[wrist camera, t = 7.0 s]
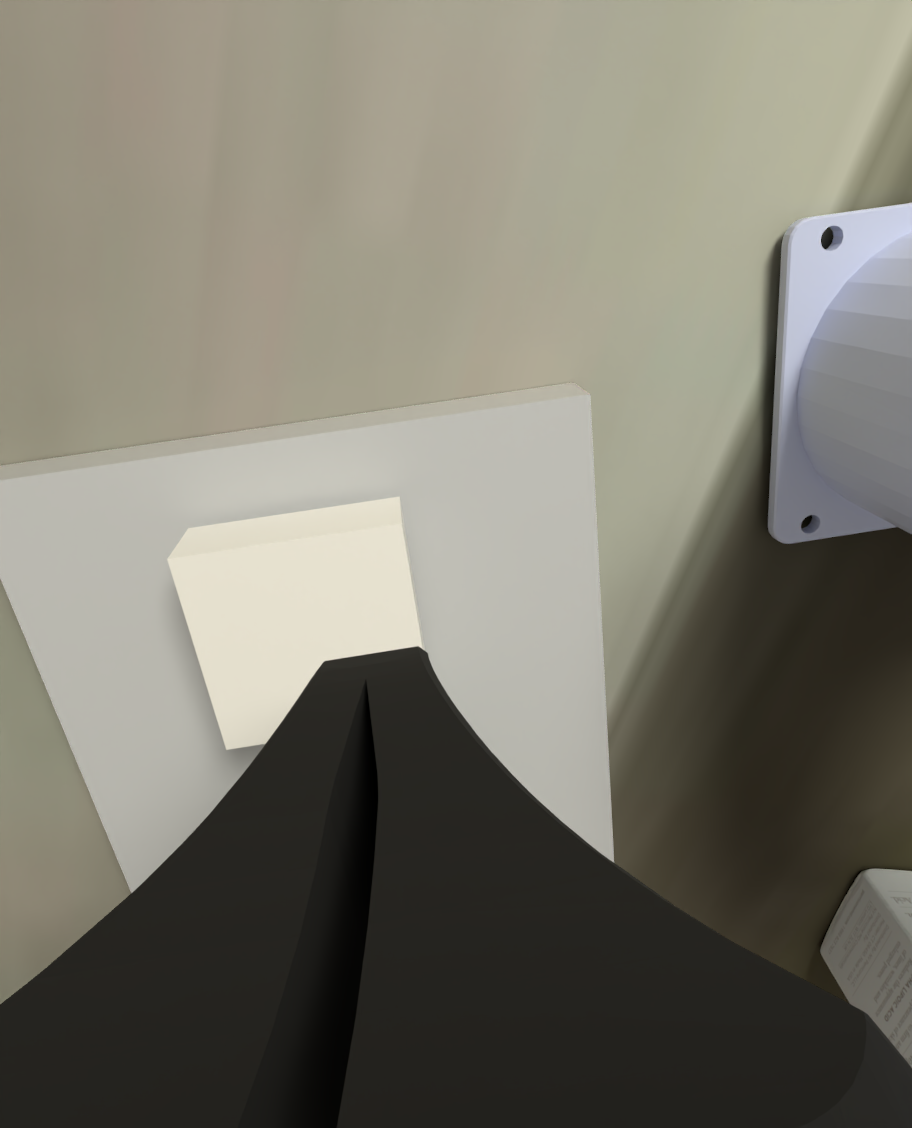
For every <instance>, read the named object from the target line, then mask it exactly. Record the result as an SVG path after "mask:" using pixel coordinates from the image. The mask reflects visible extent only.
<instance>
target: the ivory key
mask: <svg viewBox="0 0 912 1128" xmlns="http://www.w3.org/2000/svg"><path fill="white" fill-rule="evenodd" d="M167 561H168V564H169V567H170V570H171V573H172V577H173V580H174V583H175V586H176V589H177V593H178V596H179V599H180V602H181V606H182V609H183V612H184V615H185V618H186V622H187V625H188V628H189V631H190V634H191V638H192V641H193V644H194V647H195V651H196V654H197V657H198V660H199V663H200V667H201V670H202V673H203V676H204V679H205V683H206V686H207V689H208V692H209V696H210V699H211V702H212V705H213V708H214V712H215V715H216V718H217V721H218V725H219V728H220V731H221V734H222V737H223V741H224V744H225V747H226V750H229V749H236V748H242V747H248V746H254V745H260V744H266V743H267V741H268V740H269V738H270V737H271V736H272V734H273V733H274V732H275V730H276V729H277V728H278V726H279V725H280V724H281V722H282V721H283V719H284V718H285V716H286V715H287V713H288V712H289V711H290V709H291V708H292V706H293V705H294V703H295V702H296V700H297V699H298V697H299V696H300V695H301V693H302V692H303V690H304V689H305V687H306V686H307V684H308V683H309V681H310V680H311V678H312V677H313V675H314V674H315V673H316V671H317V670H318V669H319V667H320V666H321V665H322V663H323V662H324V661H328V660H334V659H340V658H347V657H353V656H359V655H366V654H372V653H378V652H384V651H391V650H397V649H403V648H410V647H416V646H419V647H420V648H422V649H423V650H424V651H425V647H424V641H423V635H422V629H421V623H420V617H419V611H418V605H417V599H416V593H415V586H414V580H413V574H412V568H411V562H410V556H409V550H408V544H407V538H406V532H405V526H404V520H403V514H402V508H401V501H400V497H393V498H386V499H380V500H373V501H366V502H360V503H353V504H346V505H340V506H333V507H326V508H320V509H313V510H306V511H300V512H293V513H286V514H280V515H273V516H266V517H260V518H253V519H246V520H240V521H233V522H226V523H220V524H213V525H206V526H200V527H193V528H188V529H187V531H186V532H185V534H184V535H183V537H182V538H181V540H180V541H179V543H178V544H177V545H176V547H175V548H174V550H173V551H172V553H171V554H170V556H169V557H168V559H167Z"/></svg>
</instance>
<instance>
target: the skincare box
mask: <svg viewBox="0 0 912 1128" xmlns="http://www.w3.org/2000/svg"><path fill="white" fill-rule="evenodd" d="M820 953H821V955H822V957H823V959H824V961H825V962H826V964H827V966H828V968H829V969H830V971H831V973H832V974H833V976H834V978H835V979H836V981H837V983H838V984H839V986H840V988H841V990H842V991H843V993H844V995H845V996H846V998H847V1000H848V1002H849V1003H850V1004H851V1005H853V1006H855V1007H856V1008H858V1009H860V1010H862V1011H864V1012H865V1013H867V1014H868V1015H869V1016H870V1017H871V1019H872V1020H873V1021H874V1022H875V1023H876V1025H877V1026H878V1027H879V1028H880V1029H881V1031H882V1032H883V1033H884V1034H885V1035H886V1037H887V1038H888V1039H889V1040H890V1042H891V1043H892V1044H893V1045H894V1046H895V1048H896V1049H897V1050H898V1051H899V1053H900V1054H901V1055H902V1056H903V1058H904V1059H905V1060H906V1061H907V1062H908V1064H909V1065H910V1066H911V1067H912V871H905V870H892V869H877V868H875V869H868V870H864V871H862V872H860V874H859V875H858V876H857V878H856V879H855V881H854V883H853V885H852V886H851V887H850V889H849V891H848V893H847V894H846V896H845V898H844V900H843V902H842V903H841V905H840V907H839V909H838V911H837V913H836V915H835V917H834V918H833V921H832V923H831V925H830V927H829V929H828V931H827V933H826V936H825V938H824V940H823V943H822V946H821V949H820Z"/></svg>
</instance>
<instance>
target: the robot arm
mask: <svg viewBox="0 0 912 1128" xmlns="http://www.w3.org/2000/svg"><path fill="white" fill-rule="evenodd" d="M828 227H830V229H831V230H832V231H833V236H834V238H833V241H832V244H831V245H830V246H829V247H828V248H827V249H824V248H823V247H822V245H821V237H822V234H823V232H824V231H825V230H826V229H827V228H828ZM810 515H812V520H811V523H810V524H809V525H808V526H807V527H804V528H801V524H802V521H803V520H804V519H805V518H806V517H807V516H810ZM895 527H899V528H900V529H902V530H904V531H906V532H908V533H910V534H912V203H907V204H900V205H892V206H885V207H878V208H871V209H863V210H856V211H849V212H842V213H835V214H827V215H820V216H813V217H806V218H802V219H799V220H796V221H795V222H794V223H793V224H791V225H790V226H789V227H788V229H787V231H786V232H785V234H784V236H783V241H782V248H781V268H780V288H779V308H778V328H777V348H776V368H775V388H774V408H773V428H772V448H771V468H770V489H769V509H768V531H769V533H770V534H771V536H772V537H773V538H775V539H776V540H777V541H779V542H781V543H783V544H792V543H798V542H805V541H811V540H818V539H824V538H830V537H837V536H843V535H850V534H856V533H863V532H869V531H876V530H882V529H888V528H895ZM0 1128H912V1067H911V1066H910V1065H909V1064H908V1062H907V1061H906V1060H905V1059H904V1058H903V1056H902V1055H901V1054H900V1053H899V1051H898V1050H897V1049H896V1048H895V1046H894V1045H893V1044H892V1043H891V1042H890V1040H889V1039H888V1038H887V1037H886V1035H885V1034H884V1033H883V1032H882V1031H881V1029H880V1028H879V1027H878V1026H877V1025H876V1023H875V1022H874V1021H873V1020H872V1019H871V1017H870V1016H869V1015H868V1014H867V1013H865V1012H864V1011H862V1010H860V1009H858V1008H856V1007H855V1006H853V1005H851V1004H849V1003H847V1002H845V1001H843V1000H841V999H839V998H838V997H836V996H834V995H832V994H830V993H828V992H826V991H824V990H822V989H820V988H819V987H817V986H815V985H813V984H811V983H809V982H807V981H805V980H803V979H802V978H800V977H798V976H796V975H794V974H792V973H790V972H788V971H786V970H784V969H783V968H781V967H779V966H777V965H775V964H773V963H771V962H769V961H767V960H766V959H764V958H762V957H760V956H758V955H756V954H754V953H752V952H750V951H748V950H747V949H745V948H743V947H741V946H739V945H737V944H735V943H734V942H732V941H730V940H728V939H727V938H725V937H724V936H722V935H720V934H719V933H717V932H716V931H714V930H712V929H711V928H709V927H707V926H706V925H704V924H703V923H701V922H699V921H698V920H696V919H695V918H693V917H691V916H690V915H688V914H687V913H685V912H683V911H682V910H680V909H679V908H677V907H675V906H674V905H673V904H671V903H670V902H668V901H667V900H666V899H664V898H663V897H661V896H660V895H659V894H657V893H656V892H654V891H653V890H652V889H650V888H649V887H647V886H646V885H644V884H643V883H642V882H640V881H639V880H637V879H636V878H635V877H633V876H632V875H630V874H629V873H628V872H626V871H625V870H623V869H622V868H621V867H619V866H618V865H616V864H615V863H614V862H612V861H611V860H609V859H608V858H607V857H605V856H604V855H602V854H601V853H600V852H598V851H597V850H596V849H595V848H593V847H592V846H591V845H590V844H588V843H587V842H586V841H585V840H584V839H582V838H581V837H580V836H579V835H578V834H576V833H575V832H574V831H573V830H572V829H570V828H569V827H568V826H567V825H565V824H564V823H563V822H562V821H561V820H560V819H559V818H557V817H556V816H555V815H554V814H553V813H552V812H551V811H550V810H549V809H547V808H546V807H545V806H544V805H543V804H542V803H541V802H540V801H539V800H538V799H536V798H535V797H534V796H533V795H532V794H531V793H530V792H529V791H528V790H527V789H526V788H525V787H524V786H523V785H522V784H521V783H520V782H519V781H518V780H517V779H516V778H515V777H514V776H513V775H512V774H511V773H510V771H509V770H508V769H507V768H506V767H505V766H504V765H503V764H502V763H501V762H500V760H499V759H498V758H497V757H496V756H495V755H494V754H493V753H492V752H491V751H490V749H489V748H488V747H487V746H486V745H485V743H484V742H483V741H482V740H481V739H480V737H479V736H478V735H477V734H476V732H475V731H474V730H473V729H472V727H471V726H470V725H469V723H468V722H467V721H466V719H465V718H464V717H463V715H462V714H461V713H460V711H459V710H458V709H457V707H456V706H455V704H454V703H453V702H452V700H451V699H450V697H449V696H448V694H447V692H446V691H445V689H444V687H443V686H442V684H441V683H440V681H439V679H438V677H437V675H436V674H435V672H434V670H433V667H432V665H431V662H430V660H429V656H428V653H427V652H426V651H424V650H423V649H422V648H420V647H419V646H416V647H410V648H403V649H397V650H391V651H384V652H378V653H372V654H366V655H359V656H353V657H347V658H340V659H334V660H328V661H324V662H323V663H322V665H321V666H320V667H319V669H318V670H317V671H316V673H315V674H314V675H313V677H312V678H311V680H310V681H309V683H308V684H307V686H306V687H305V689H304V690H303V692H302V693H301V695H300V696H299V697H298V699H297V700H296V702H295V703H294V705H293V706H292V708H291V709H290V711H289V712H288V713H287V715H286V716H285V718H284V719H283V721H282V722H281V724H280V725H279V726H278V728H277V729H276V730H275V732H274V733H273V734H272V736H271V737H270V738H269V740H268V741H267V743H266V744H265V745H264V747H263V748H262V749H261V751H260V752H259V753H258V755H257V756H256V757H255V759H254V760H253V761H252V763H251V764H250V765H249V767H248V768H247V769H246V770H245V772H244V773H243V774H242V775H241V777H240V778H239V779H238V780H237V781H236V783H235V784H234V785H233V786H232V787H231V789H230V790H229V791H228V792H227V793H226V795H225V796H224V797H223V798H222V799H221V801H220V802H219V803H218V804H217V806H216V807H215V808H214V809H213V810H212V812H211V813H210V814H209V815H208V816H207V817H206V818H205V819H204V821H203V822H202V823H201V824H200V825H199V826H198V827H197V828H196V829H195V830H194V831H193V833H192V834H191V835H190V836H189V837H188V838H187V839H186V840H185V841H184V842H183V843H182V844H181V845H180V846H179V847H178V848H177V849H176V850H175V851H174V852H173V853H172V854H171V855H170V856H169V857H168V858H167V859H166V860H165V861H164V862H163V863H162V864H161V865H160V866H159V867H158V868H157V869H156V870H155V871H154V872H153V873H152V874H151V875H150V876H149V877H148V878H147V879H146V880H145V881H144V882H143V883H142V884H141V885H140V886H139V887H138V888H137V889H136V890H135V891H134V892H132V893H131V894H130V895H129V896H128V897H127V898H126V899H125V900H124V901H122V902H121V903H120V904H119V905H118V906H117V907H116V908H114V909H113V910H112V911H111V912H110V913H109V914H108V915H106V916H105V917H104V918H103V919H102V920H101V921H100V922H98V923H97V924H96V925H95V926H94V927H93V928H92V929H90V930H89V931H88V932H87V933H86V934H85V935H84V936H82V937H81V938H80V939H79V940H78V941H77V942H75V943H74V944H73V945H72V946H71V947H70V948H69V949H67V950H66V951H65V952H64V953H63V954H62V955H61V956H59V957H58V958H57V959H56V960H55V961H54V962H53V963H51V964H50V965H49V966H48V967H47V968H46V969H44V970H43V971H42V972H41V973H39V974H38V975H37V976H36V977H35V978H33V979H32V980H31V981H30V982H28V983H27V984H26V985H25V986H23V987H22V988H21V989H19V990H18V991H17V992H16V993H14V994H13V995H12V996H11V997H9V998H8V999H7V1000H5V1001H4V1002H3V1003H2V1004H0Z"/></svg>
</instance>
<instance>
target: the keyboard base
mask: <svg viewBox="0 0 912 1128" xmlns="http://www.w3.org/2000/svg"><path fill="white" fill-rule="evenodd" d="M393 497H400V501H401V508H402V514H403V520H404V526H405V532H406V538H407V544H408V550H409V556H410V562H411V568H412V574H413V580H414V586H415V593H416V599H417V605H418V611H419V617H420V623H421V629H422V635H423V641H424V647H425V651H426V652H427V653H428V656H429V660H430V662H431V665H432V667H433V670H434V672H435V674H436V675H437V677H438V679H439V681H440V683H441V684H442V686H443V687H444V689H445V691H446V692H447V694H448V696H449V697H450V699H451V700H452V702H453V703H454V704H455V706H456V707H457V709H458V710H459V711H460V713H461V714H462V715H463V717H464V718H465V719H466V721H467V722H468V723H469V725H470V726H471V727H472V729H473V730H474V731H475V732H476V734H477V735H478V736H479V737H480V739H481V740H482V741H483V742H484V743H485V745H486V746H487V747H488V748H489V749H490V751H491V752H492V753H493V754H494V755H495V756H496V757H497V758H498V759H499V760H500V762H501V763H502V764H503V765H504V766H505V767H506V768H507V769H508V770H509V771H510V773H511V774H512V775H513V776H514V777H515V778H516V779H517V780H518V781H519V782H520V783H521V784H522V785H523V786H524V787H525V788H526V789H527V790H528V791H529V792H530V793H531V794H532V795H533V796H534V797H535V798H536V799H538V800H539V801H540V802H541V803H542V804H543V805H544V806H545V807H546V808H547V809H549V810H550V811H551V812H552V813H553V814H554V815H555V816H556V817H557V818H559V819H560V820H561V821H562V822H563V823H564V824H565V825H567V826H568V827H569V828H570V829H572V830H573V831H574V832H575V833H576V834H578V835H579V836H580V837H581V838H582V839H584V840H585V841H586V842H587V843H588V844H590V845H591V846H592V847H593V848H595V849H596V850H597V851H598V852H600V853H601V854H602V855H604V856H605V857H607V858H608V859H609V860H611V861H612V862H614V850H613V830H612V811H611V791H610V771H609V752H608V732H607V712H606V693H605V673H604V654H603V634H602V614H601V595H600V575H599V556H598V536H597V516H596V497H595V477H594V457H593V438H592V418H591V399H590V394H589V393H588V392H586V391H585V390H584V389H582V388H581V387H579V386H578V385H576V384H575V383H573V382H572V383H565V384H558V385H551V386H545V387H538V388H531V389H524V390H517V391H510V392H503V393H496V394H490V395H483V396H476V397H469V398H462V399H455V400H448V401H441V402H435V403H428V404H421V405H414V406H407V407H400V408H393V409H386V410H380V411H373V412H366V413H359V414H352V415H345V416H338V417H331V418H325V419H318V420H311V421H304V422H297V423H290V424H283V425H276V426H270V427H263V428H256V429H249V430H242V431H235V432H228V433H221V434H215V435H208V436H201V437H194V438H187V439H180V440H173V441H166V442H160V443H153V444H146V445H139V446H132V447H125V448H118V449H111V450H105V451H98V452H91V453H84V454H77V455H70V456H63V457H56V458H50V459H43V460H36V461H29V462H22V463H15V464H8V465H1V466H0V579H1V581H2V583H3V586H4V588H5V591H6V593H7V595H8V598H9V600H10V603H11V605H12V607H13V610H14V612H15V615H16V617H17V620H18V622H19V624H20V627H21V629H22V632H23V634H24V636H25V639H26V641H27V644H28V646H29V648H30V651H31V653H32V656H33V658H34V660H35V663H36V665H37V668H38V670H39V672H40V675H41V677H42V680H43V682H44V684H45V687H46V689H47V692H48V694H49V696H50V699H51V701H52V704H53V706H54V708H55V711H56V713H57V716H58V718H59V720H60V723H61V725H62V728H63V730H64V732H65V735H66V737H67V740H68V742H69V744H70V747H71V749H72V752H73V754H74V756H75V759H76V761H77V764H78V766H79V768H80V771H81V773H82V776H83V778H84V780H85V783H86V785H87V788H88V790H89V792H90V795H91V797H92V800H93V802H94V804H95V807H96V809H97V812H98V814H99V816H100V819H101V821H102V824H103V826H104V828H105V831H106V833H107V836H108V838H109V841H110V843H111V845H112V848H113V850H114V853H115V855H116V857H117V860H118V862H119V865H120V867H121V869H122V872H123V874H124V877H125V879H126V881H127V884H128V886H129V889H130V891H131V893H132V892H134V891H135V890H136V889H137V888H138V887H139V886H140V885H141V884H142V883H143V882H144V881H145V880H146V879H147V878H148V877H149V876H150V875H151V874H152V873H153V872H154V871H155V870H156V869H157V868H158V867H159V866H160V865H161V864H162V863H163V862H164V861H165V860H166V859H167V858H168V857H169V856H170V855H171V854H172V853H173V852H174V851H175V850H176V849H177V848H178V847H179V846H180V845H181V844H182V843H183V842H184V841H185V840H186V839H187V838H188V837H189V836H190V835H191V834H192V833H193V831H194V830H195V829H196V828H197V827H198V826H199V825H200V824H201V823H202V822H203V821H204V819H205V818H206V817H207V816H208V815H209V814H210V813H211V812H212V810H213V809H214V808H215V807H216V806H217V804H218V803H219V802H220V801H221V799H222V798H223V797H224V796H225V795H226V793H227V792H228V791H229V790H230V789H231V787H232V786H233V785H234V784H235V783H236V781H237V780H238V779H239V778H240V777H241V775H242V774H243V773H244V772H245V770H246V769H247V768H248V767H249V765H250V764H251V763H252V761H253V760H254V759H255V757H256V756H257V755H258V753H259V752H260V751H261V749H262V748H263V747H264V745H265V744H260V745H254V746H248V747H242V748H236V749H229V750H226V747H225V744H224V741H223V737H222V734H221V731H220V728H219V725H218V721H217V718H216V715H215V712H214V708H213V705H212V702H211V699H210V696H209V692H208V689H207V686H206V683H205V679H204V676H203V673H202V670H201V667H200V663H199V660H198V657H197V654H196V651H195V647H194V644H193V641H192V638H191V634H190V631H189V628H188V625H187V622H186V618H185V615H184V612H183V609H182V606H181V602H180V599H179V596H178V593H177V589H176V586H175V583H174V580H173V577H172V573H171V570H170V567H169V564H168V561H167V559H168V557H169V556H170V554H171V553H172V551H173V550H174V548H175V547H176V545H177V544H178V543H179V541H180V540H181V538H182V537H183V535H184V534H185V532H186V531H187V529H188V528H193V527H200V526H206V525H213V524H220V523H226V522H233V521H240V520H246V519H253V518H260V517H266V516H273V515H280V514H286V513H293V512H300V511H306V510H313V509H320V508H326V507H333V506H340V505H346V504H353V503H360V502H366V501H373V500H380V499H386V498H393Z"/></svg>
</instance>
